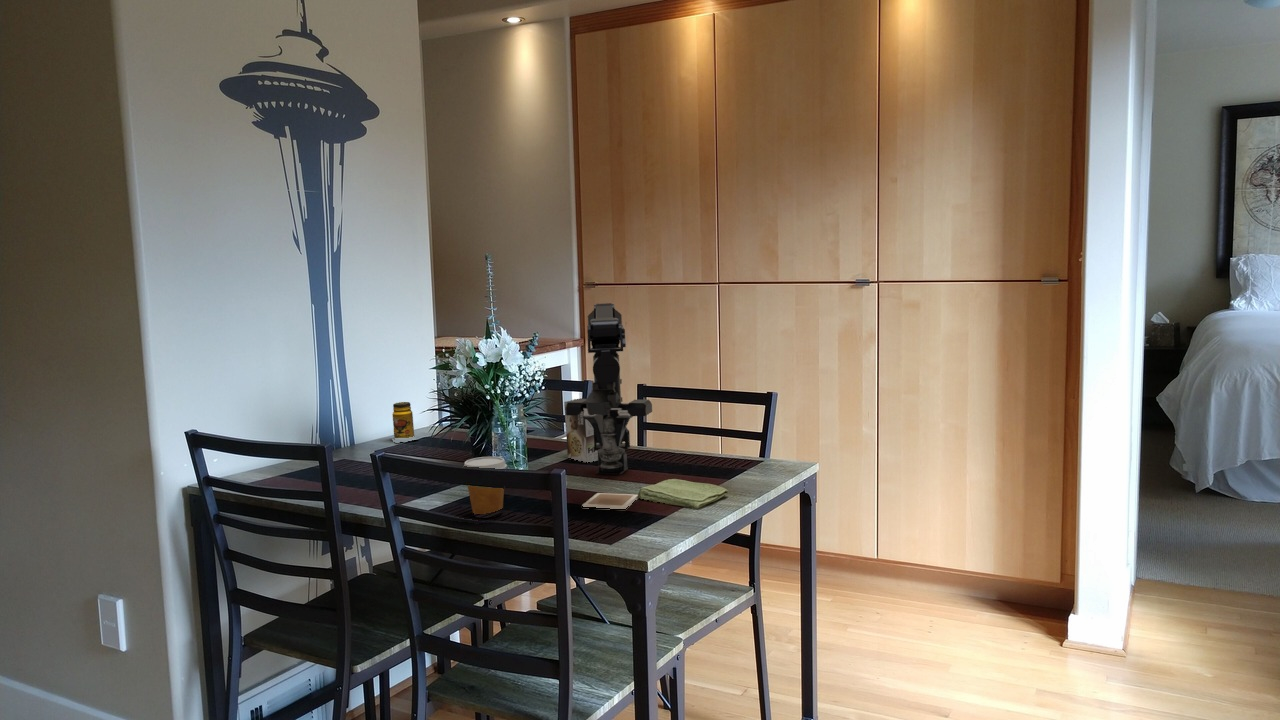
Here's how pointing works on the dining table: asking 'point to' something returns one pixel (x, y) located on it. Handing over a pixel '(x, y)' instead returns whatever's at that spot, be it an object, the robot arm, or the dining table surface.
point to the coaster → (611, 500)
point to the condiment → (403, 420)
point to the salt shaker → (610, 445)
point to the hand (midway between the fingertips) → (610, 445)
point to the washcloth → (682, 493)
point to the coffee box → (580, 438)
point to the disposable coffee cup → (483, 496)
